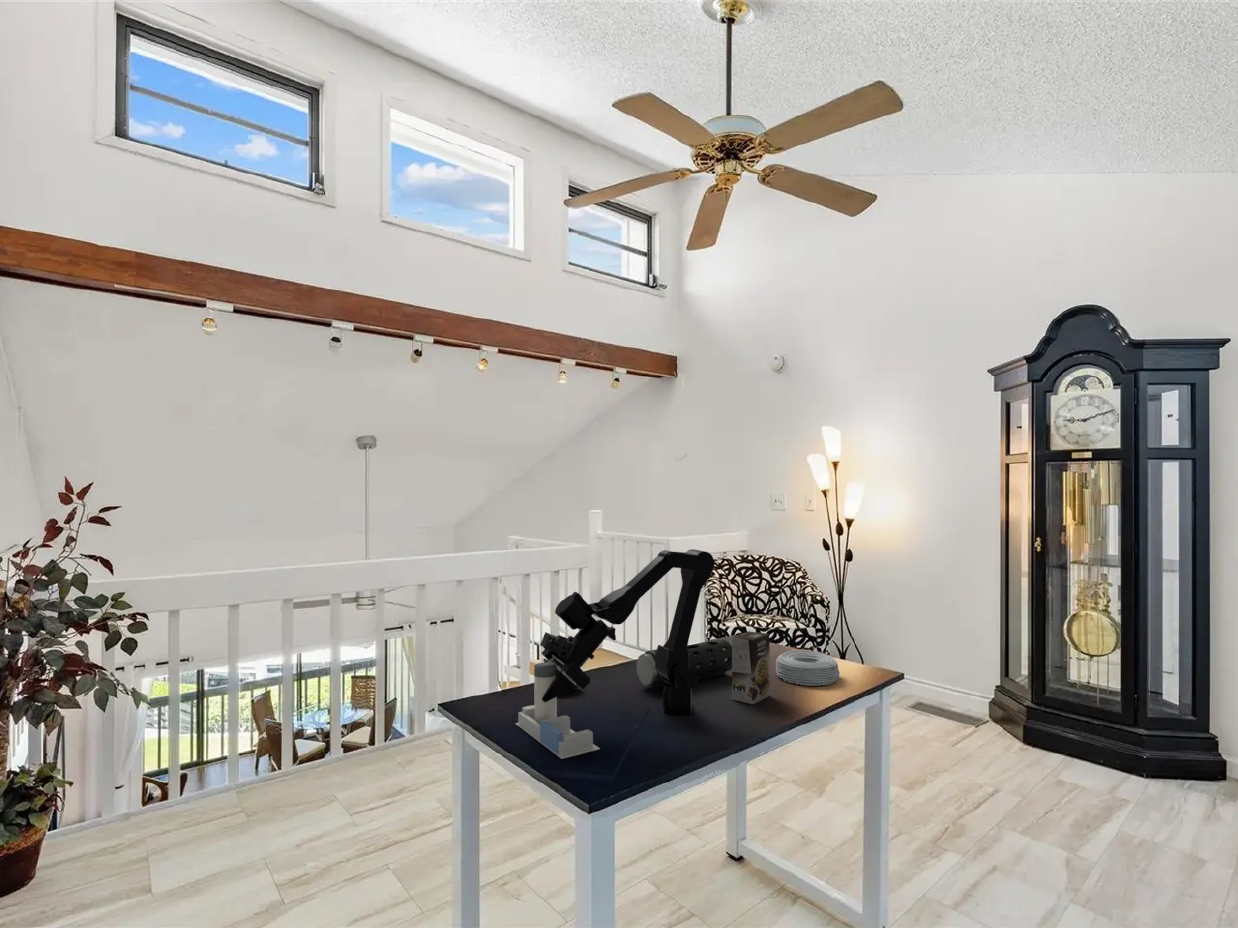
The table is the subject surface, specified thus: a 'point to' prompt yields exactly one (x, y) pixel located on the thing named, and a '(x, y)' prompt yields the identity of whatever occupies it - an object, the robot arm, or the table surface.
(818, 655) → the cable
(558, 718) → the white slotted stand
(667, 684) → the robot arm
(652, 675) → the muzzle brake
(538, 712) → the white capped cylinder
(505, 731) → the table surface
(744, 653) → the cookie box
